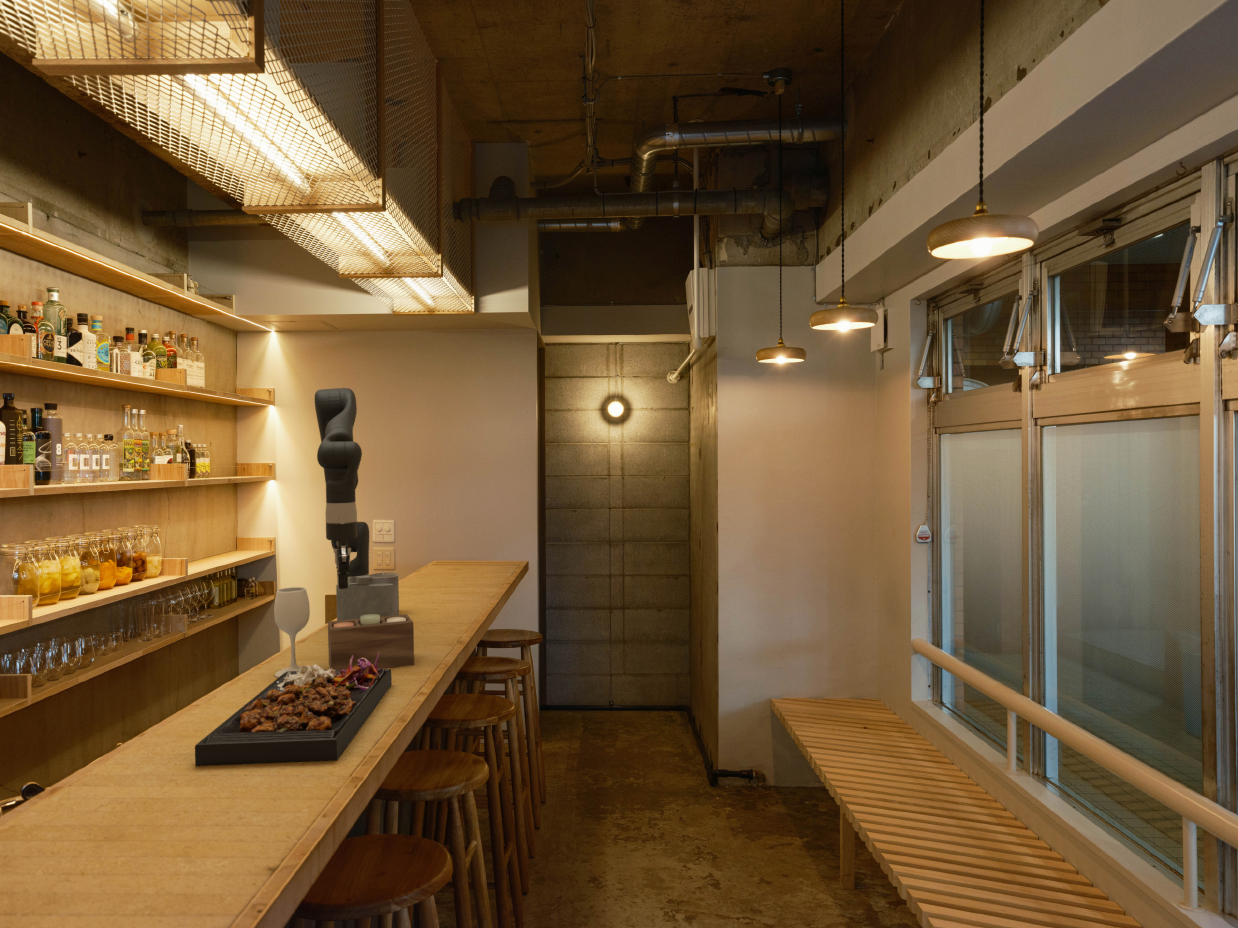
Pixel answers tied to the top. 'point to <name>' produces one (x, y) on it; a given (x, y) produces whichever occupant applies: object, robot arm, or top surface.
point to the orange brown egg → (343, 624)
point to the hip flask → (364, 599)
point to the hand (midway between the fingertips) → (343, 588)
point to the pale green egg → (370, 619)
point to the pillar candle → (388, 579)
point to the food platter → (298, 717)
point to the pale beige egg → (396, 619)
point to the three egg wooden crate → (372, 643)
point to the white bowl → (291, 617)
